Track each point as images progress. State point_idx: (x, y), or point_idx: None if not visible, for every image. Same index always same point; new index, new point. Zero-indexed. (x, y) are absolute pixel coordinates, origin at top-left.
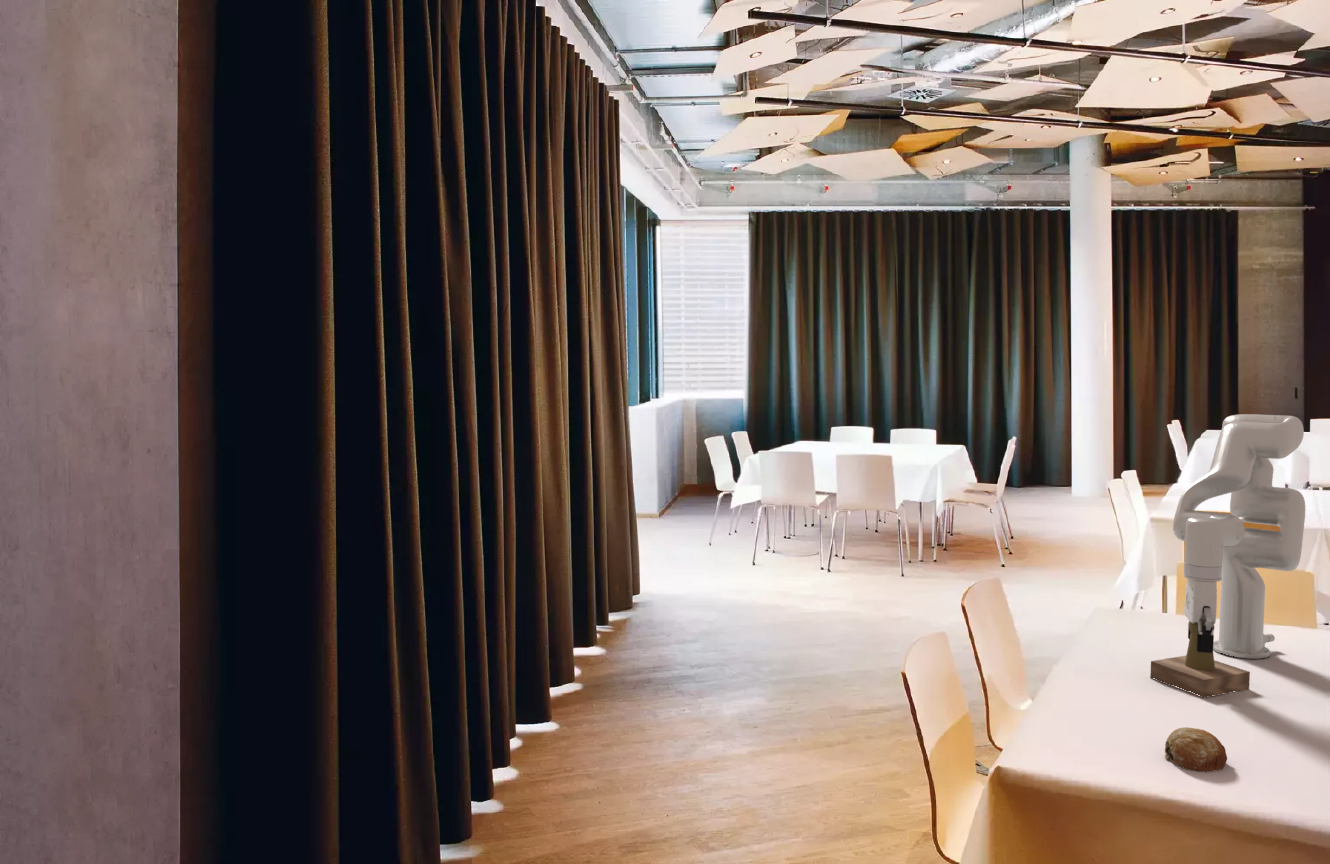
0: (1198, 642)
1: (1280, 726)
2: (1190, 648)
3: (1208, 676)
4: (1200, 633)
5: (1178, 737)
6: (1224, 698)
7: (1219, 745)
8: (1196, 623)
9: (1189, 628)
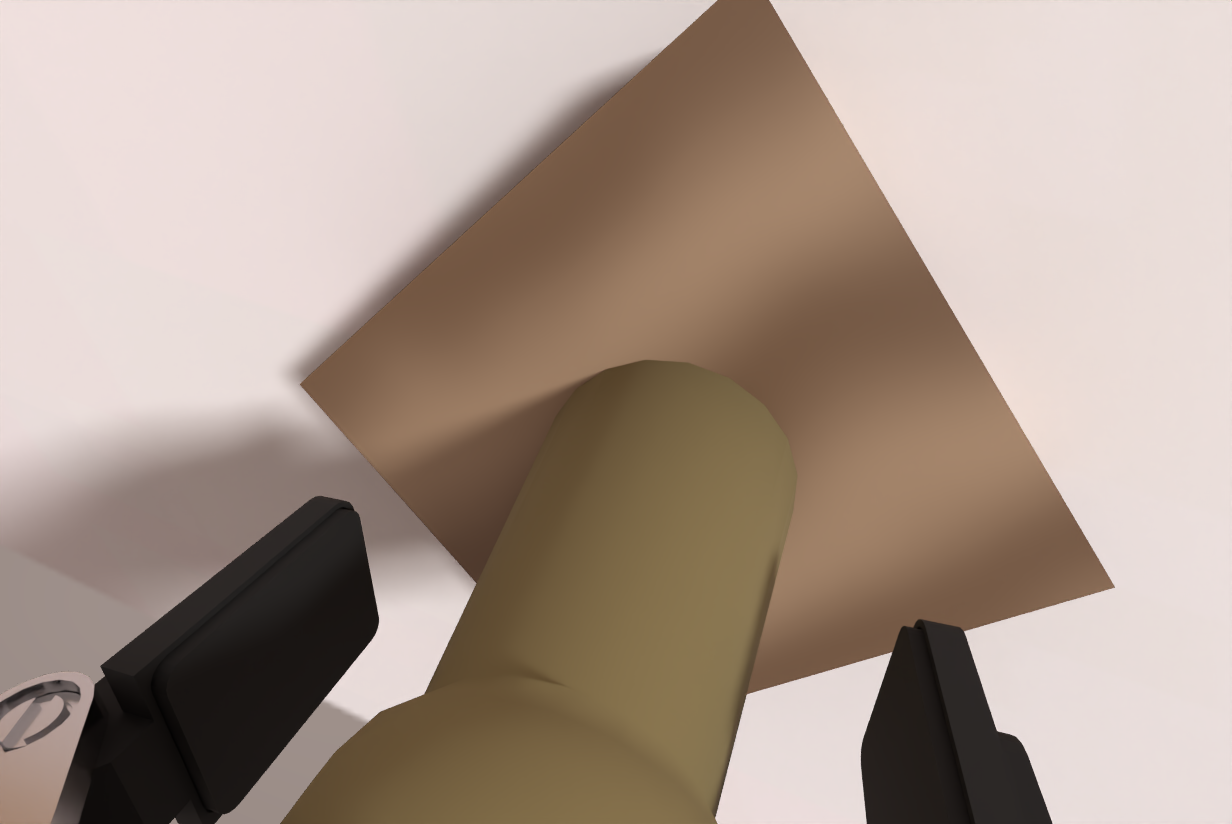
0: (235, 579)
1: (159, 533)
2: (562, 487)
3: (399, 443)
4: (6, 701)
5: None
6: None
7: None
8: None
9: (456, 720)
